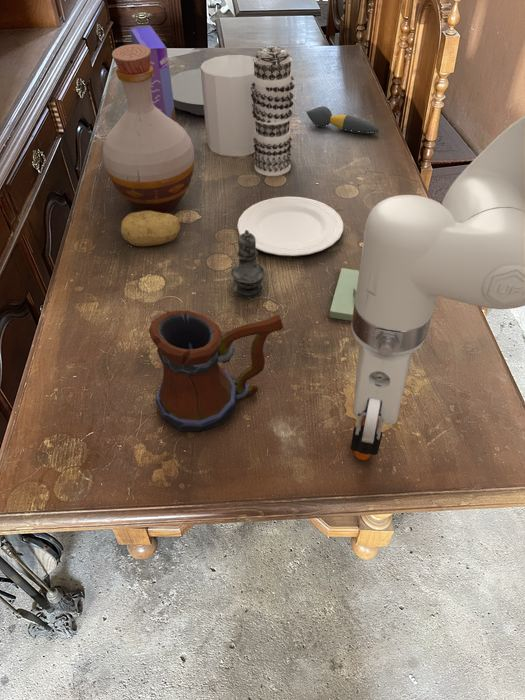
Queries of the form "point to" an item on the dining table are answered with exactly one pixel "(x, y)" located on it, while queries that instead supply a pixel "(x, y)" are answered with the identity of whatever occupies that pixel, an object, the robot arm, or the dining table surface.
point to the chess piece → (248, 268)
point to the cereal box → (157, 68)
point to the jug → (146, 141)
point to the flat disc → (188, 91)
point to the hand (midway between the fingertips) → (368, 424)
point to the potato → (149, 228)
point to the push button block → (344, 295)
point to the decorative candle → (272, 110)
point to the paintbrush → (340, 121)
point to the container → (229, 104)
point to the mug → (203, 367)
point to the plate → (291, 226)
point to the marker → (360, 455)
